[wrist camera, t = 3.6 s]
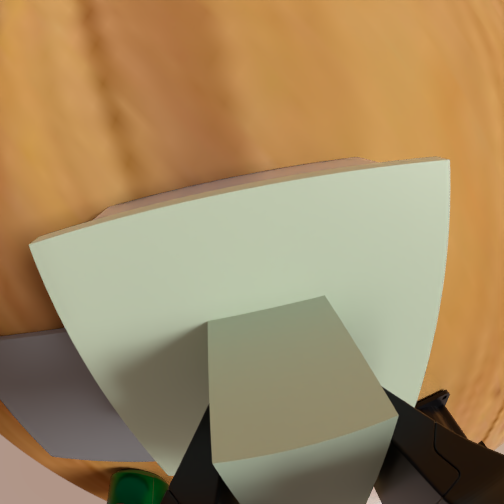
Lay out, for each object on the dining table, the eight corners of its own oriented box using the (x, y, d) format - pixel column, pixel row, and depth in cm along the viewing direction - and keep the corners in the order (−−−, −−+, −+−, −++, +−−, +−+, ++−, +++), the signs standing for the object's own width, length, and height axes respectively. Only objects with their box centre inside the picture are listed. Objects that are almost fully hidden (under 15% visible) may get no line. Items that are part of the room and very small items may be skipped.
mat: (107, 321, 13) (104, 326, 13) (185, 455, 18) (185, 459, 17) (-35, 340, 12) (-38, 343, 12) (52, 452, 17) (51, 456, 17)
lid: (436, 156, 7) (572, 198, 3) (405, 410, 12) (448, 484, 7) (39, 236, 7) (-71, 336, 2) (169, 465, 11) (168, 552, 7)
